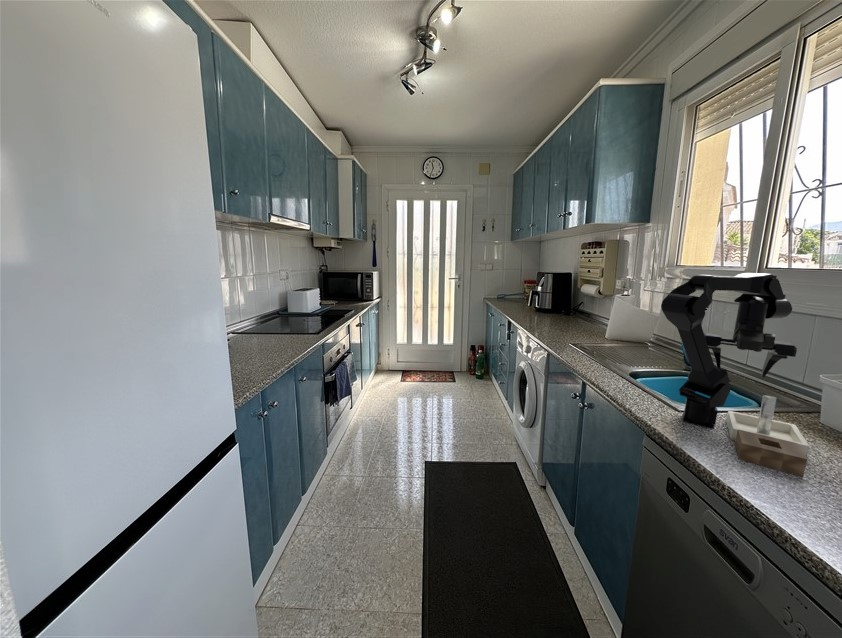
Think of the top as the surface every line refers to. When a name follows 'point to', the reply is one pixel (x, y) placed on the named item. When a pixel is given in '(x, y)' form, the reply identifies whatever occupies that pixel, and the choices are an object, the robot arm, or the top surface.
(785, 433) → the tray
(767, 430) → the lock pin
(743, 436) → the block
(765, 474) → the top surface
